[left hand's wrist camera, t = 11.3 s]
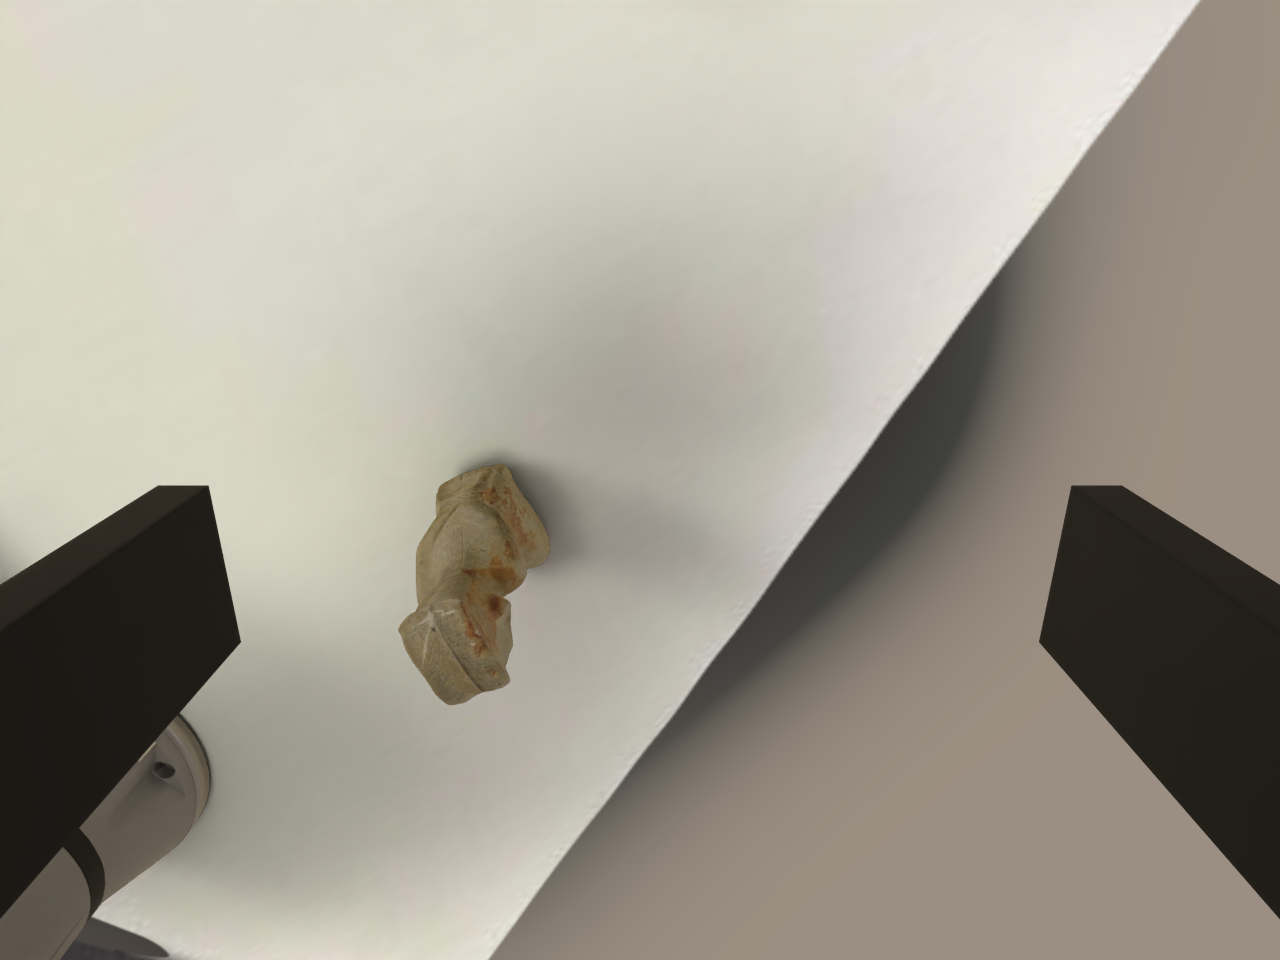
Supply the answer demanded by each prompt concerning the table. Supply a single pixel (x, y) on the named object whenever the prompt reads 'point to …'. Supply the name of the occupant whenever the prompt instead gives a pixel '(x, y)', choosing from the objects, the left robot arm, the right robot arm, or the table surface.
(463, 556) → the sculpture
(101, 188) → the table surface
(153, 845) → the left robot arm
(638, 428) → the table surface
